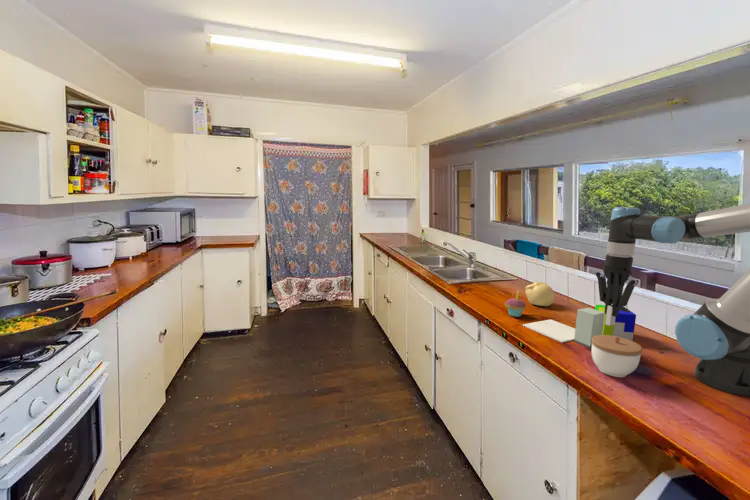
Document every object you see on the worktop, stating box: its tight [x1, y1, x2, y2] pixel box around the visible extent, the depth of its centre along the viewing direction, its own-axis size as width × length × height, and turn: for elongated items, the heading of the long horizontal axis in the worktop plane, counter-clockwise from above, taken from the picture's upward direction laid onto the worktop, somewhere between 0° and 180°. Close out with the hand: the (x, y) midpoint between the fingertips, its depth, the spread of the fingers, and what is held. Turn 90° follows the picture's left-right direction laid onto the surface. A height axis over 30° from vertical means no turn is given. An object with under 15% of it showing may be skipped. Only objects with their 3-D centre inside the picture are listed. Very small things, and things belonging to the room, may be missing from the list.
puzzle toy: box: [594, 304, 637, 342], centre depth 143 cm, size 10×10×10 cm
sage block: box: [573, 307, 605, 349], centre depth 133 cm, size 6×6×12 cm
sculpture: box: [525, 281, 555, 307], centre depth 178 cm, size 11×12×11 cm
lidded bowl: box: [590, 335, 643, 378], centre depth 113 cm, size 13×13×11 cm
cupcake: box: [504, 289, 527, 318], centre depth 162 cm, size 9×8×12 cm
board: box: [522, 318, 576, 343], centre depth 146 cm, size 18×16×1 cm
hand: (609, 324), depth 127 cm, fingers closed
